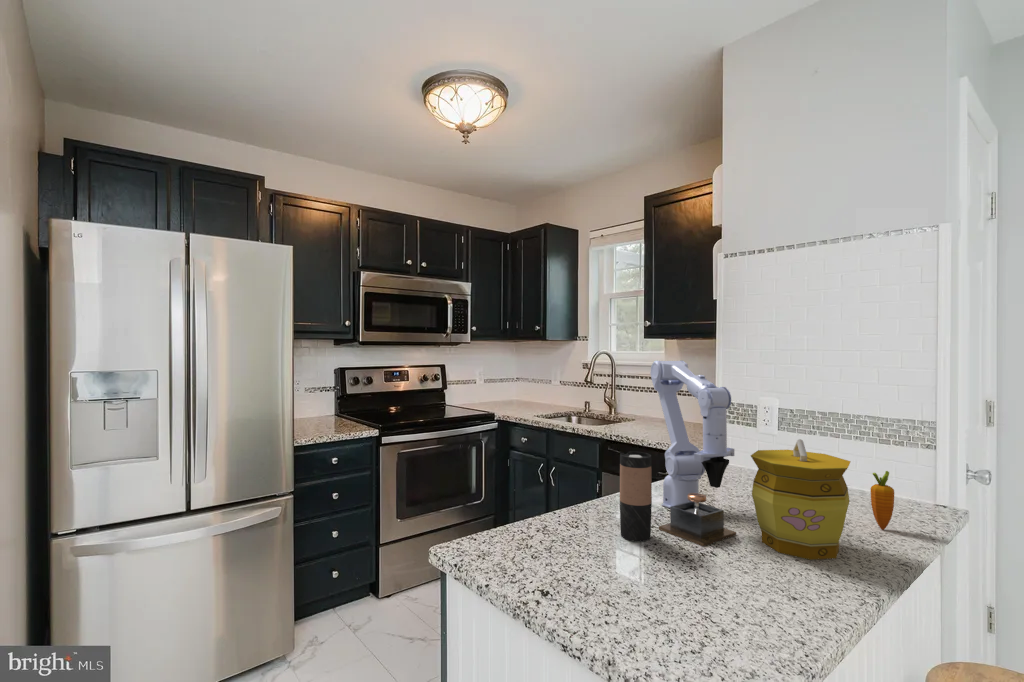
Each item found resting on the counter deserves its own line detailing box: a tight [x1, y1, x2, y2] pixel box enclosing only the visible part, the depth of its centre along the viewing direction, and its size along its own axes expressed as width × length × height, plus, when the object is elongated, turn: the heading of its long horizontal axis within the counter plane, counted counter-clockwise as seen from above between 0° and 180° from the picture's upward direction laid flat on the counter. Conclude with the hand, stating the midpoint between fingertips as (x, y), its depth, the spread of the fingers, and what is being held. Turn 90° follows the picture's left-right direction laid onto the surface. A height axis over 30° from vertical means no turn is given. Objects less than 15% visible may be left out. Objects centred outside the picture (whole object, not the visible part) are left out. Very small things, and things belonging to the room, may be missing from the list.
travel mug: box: [619, 451, 653, 543], centre depth 123 cm, size 8×8×20 cm
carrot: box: [870, 470, 895, 531], centre depth 128 cm, size 5×5×15 cm
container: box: [750, 438, 851, 561], centre depth 117 cm, size 21×21×25 cm
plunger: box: [685, 493, 709, 516], centre depth 125 cm, size 7×7×5 cm
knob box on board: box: [658, 501, 737, 547], centre depth 125 cm, size 13×13×6 cm
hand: (715, 486), depth 129 cm, fingers closed
